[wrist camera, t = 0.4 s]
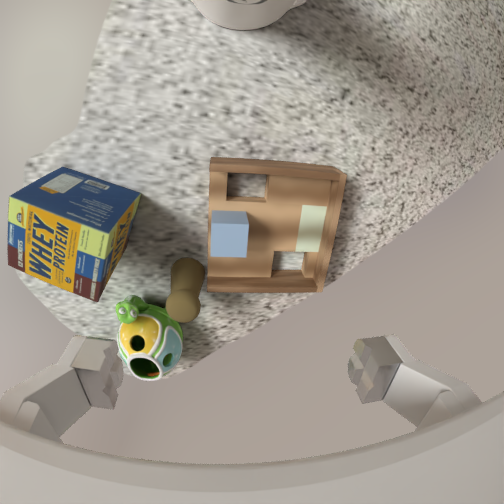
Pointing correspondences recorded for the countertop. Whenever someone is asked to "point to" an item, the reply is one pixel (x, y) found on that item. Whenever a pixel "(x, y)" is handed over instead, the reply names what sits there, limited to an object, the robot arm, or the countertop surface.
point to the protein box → (70, 230)
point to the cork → (185, 290)
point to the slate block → (229, 233)
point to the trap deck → (277, 225)
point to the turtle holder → (148, 339)
